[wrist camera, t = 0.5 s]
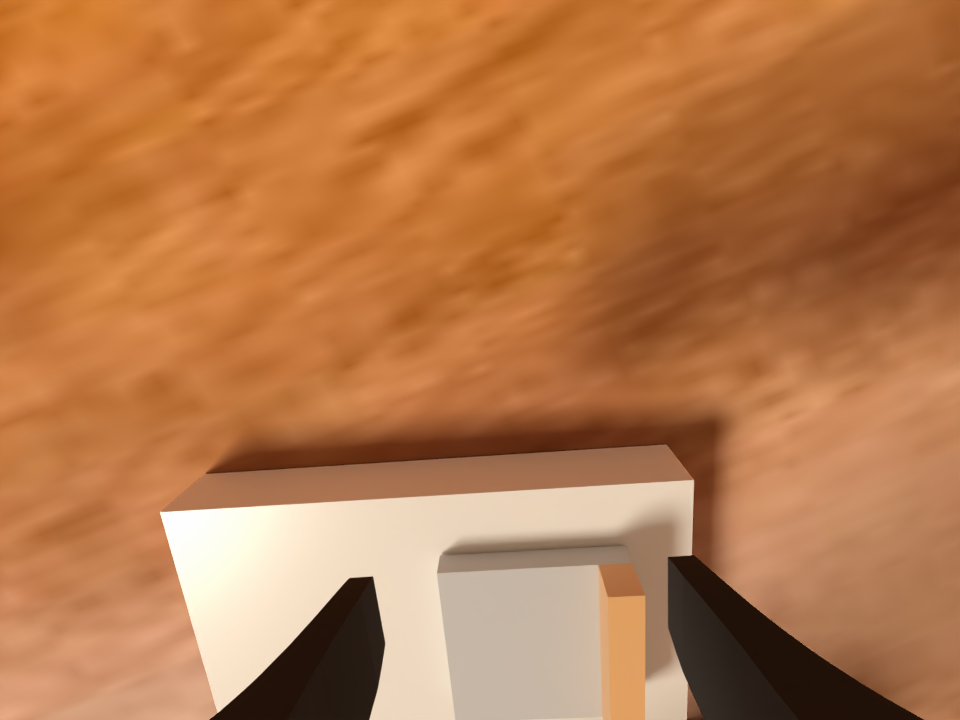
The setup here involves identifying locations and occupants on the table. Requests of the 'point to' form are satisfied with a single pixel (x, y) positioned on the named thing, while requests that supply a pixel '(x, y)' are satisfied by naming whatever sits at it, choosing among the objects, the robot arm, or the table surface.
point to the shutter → (544, 634)
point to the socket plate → (415, 554)
